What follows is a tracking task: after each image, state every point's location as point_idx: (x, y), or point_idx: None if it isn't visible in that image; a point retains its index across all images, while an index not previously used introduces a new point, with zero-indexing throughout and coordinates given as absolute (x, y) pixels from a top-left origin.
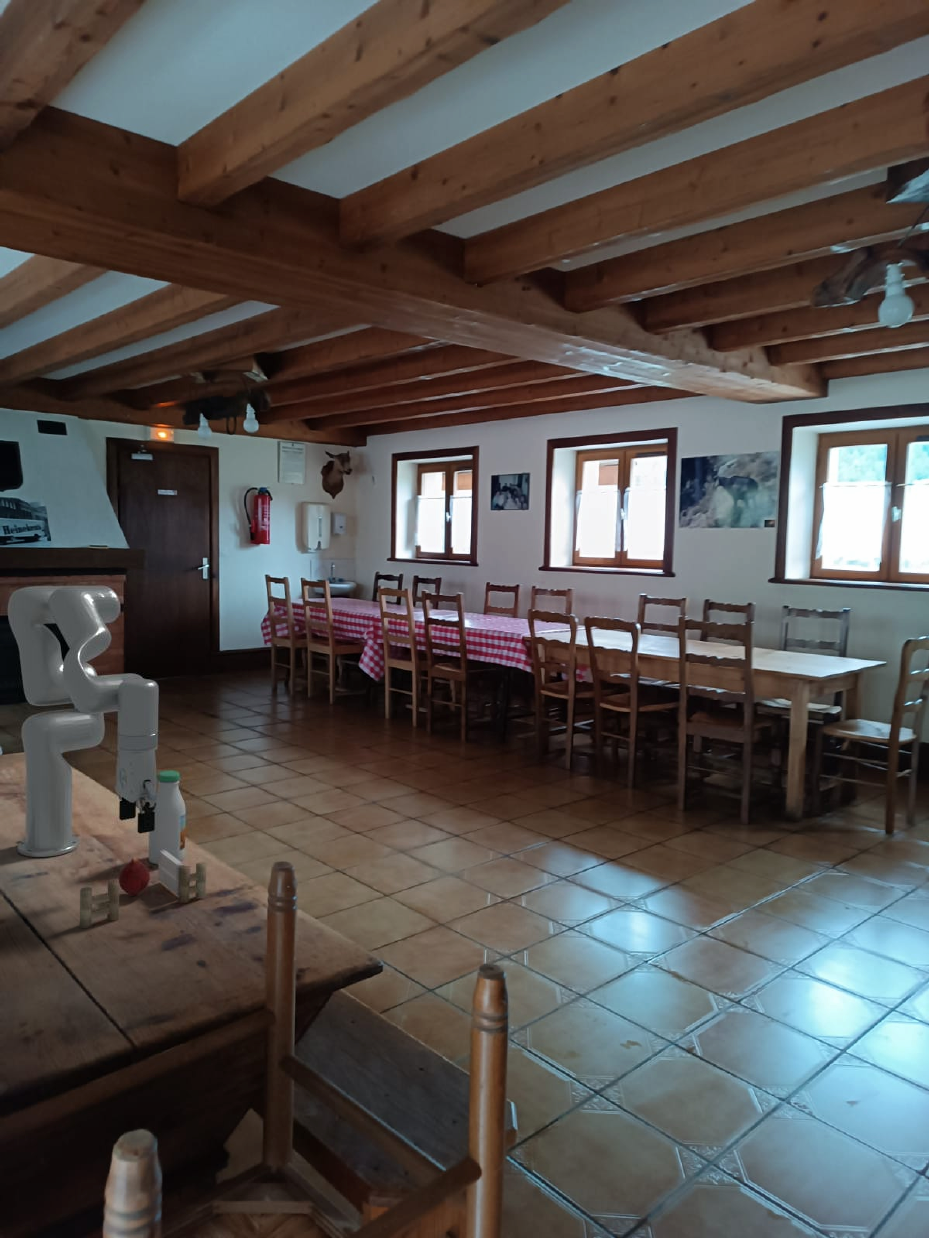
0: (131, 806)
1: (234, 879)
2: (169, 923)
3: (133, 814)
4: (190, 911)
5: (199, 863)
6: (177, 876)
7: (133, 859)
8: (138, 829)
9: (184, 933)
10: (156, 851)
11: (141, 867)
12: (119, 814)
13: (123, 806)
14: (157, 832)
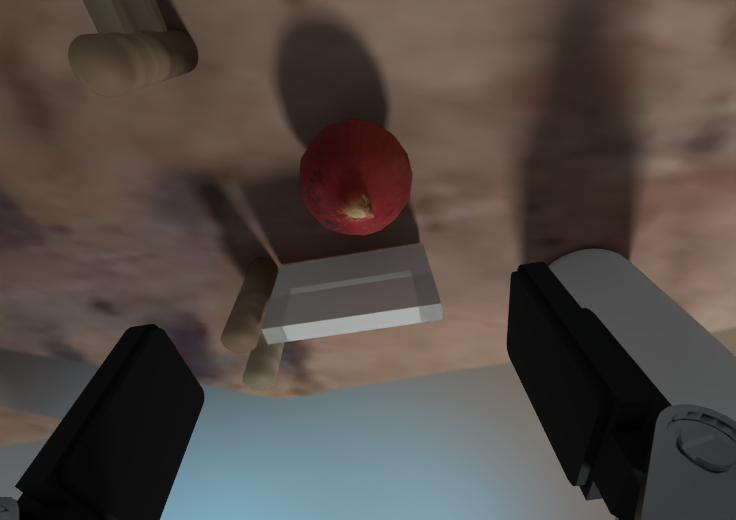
0: (549, 410)
1: (357, 378)
2: (118, 210)
3: (516, 360)
4: (193, 270)
5: (266, 376)
6: (277, 300)
7: (349, 207)
8: (117, 345)
9: (46, 231)
10: (574, 283)
11: (326, 220)
12: (557, 285)
13: (566, 370)
14: (611, 331)
